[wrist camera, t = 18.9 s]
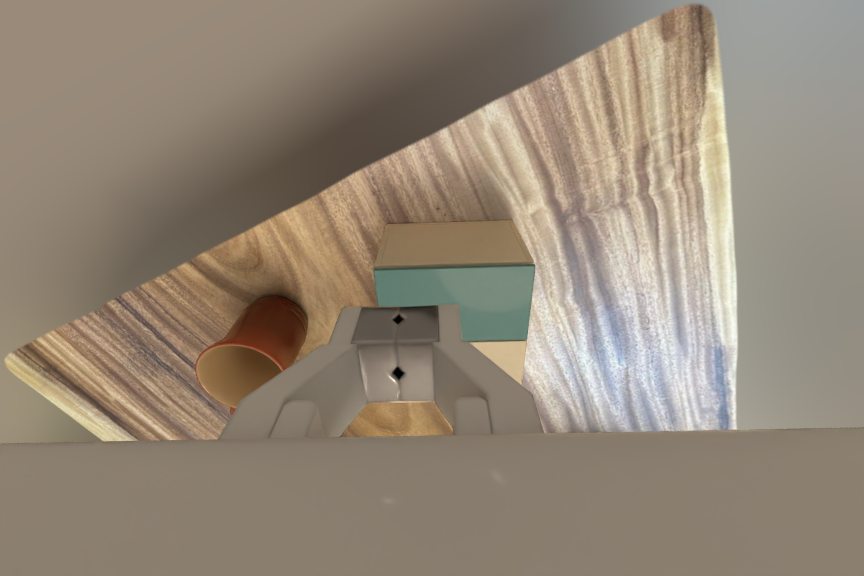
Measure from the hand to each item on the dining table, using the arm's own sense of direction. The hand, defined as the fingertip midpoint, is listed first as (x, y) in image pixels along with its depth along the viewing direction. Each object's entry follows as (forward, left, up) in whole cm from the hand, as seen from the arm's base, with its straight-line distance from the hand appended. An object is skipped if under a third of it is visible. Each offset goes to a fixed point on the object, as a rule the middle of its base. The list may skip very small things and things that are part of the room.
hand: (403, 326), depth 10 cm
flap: (+7, +9, -19) cm, 23 cm away
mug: (+28, 0, -29) cm, 41 cm away
